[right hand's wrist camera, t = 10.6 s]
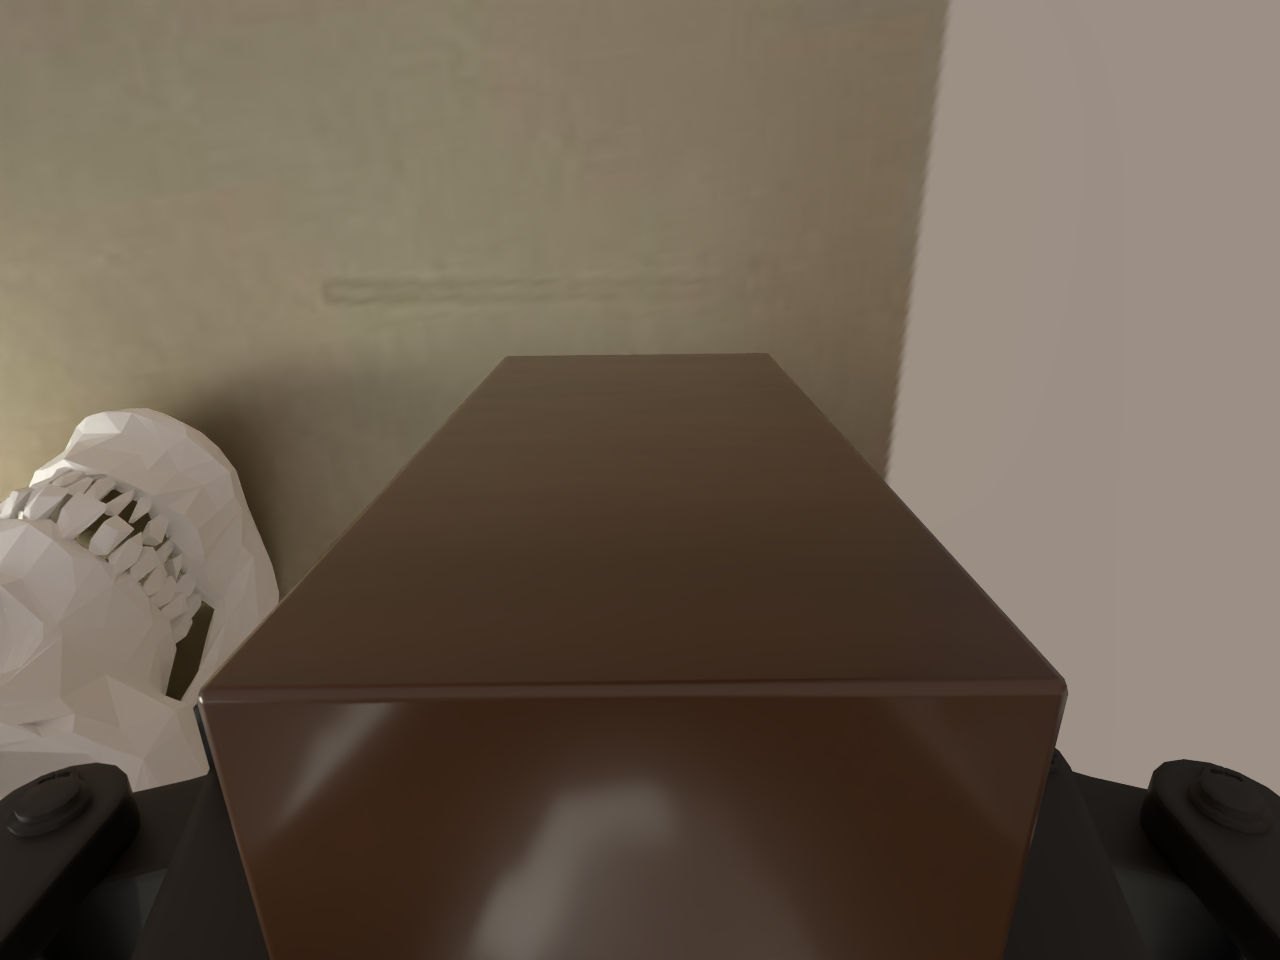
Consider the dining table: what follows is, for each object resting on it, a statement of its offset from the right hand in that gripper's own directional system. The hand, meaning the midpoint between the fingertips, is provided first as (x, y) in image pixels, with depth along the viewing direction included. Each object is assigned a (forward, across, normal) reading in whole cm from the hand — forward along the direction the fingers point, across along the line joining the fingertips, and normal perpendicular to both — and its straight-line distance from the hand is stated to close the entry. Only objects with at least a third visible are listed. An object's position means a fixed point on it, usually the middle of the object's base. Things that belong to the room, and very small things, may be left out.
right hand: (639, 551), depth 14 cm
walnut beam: (0, 0, +13) cm, 13 cm away
